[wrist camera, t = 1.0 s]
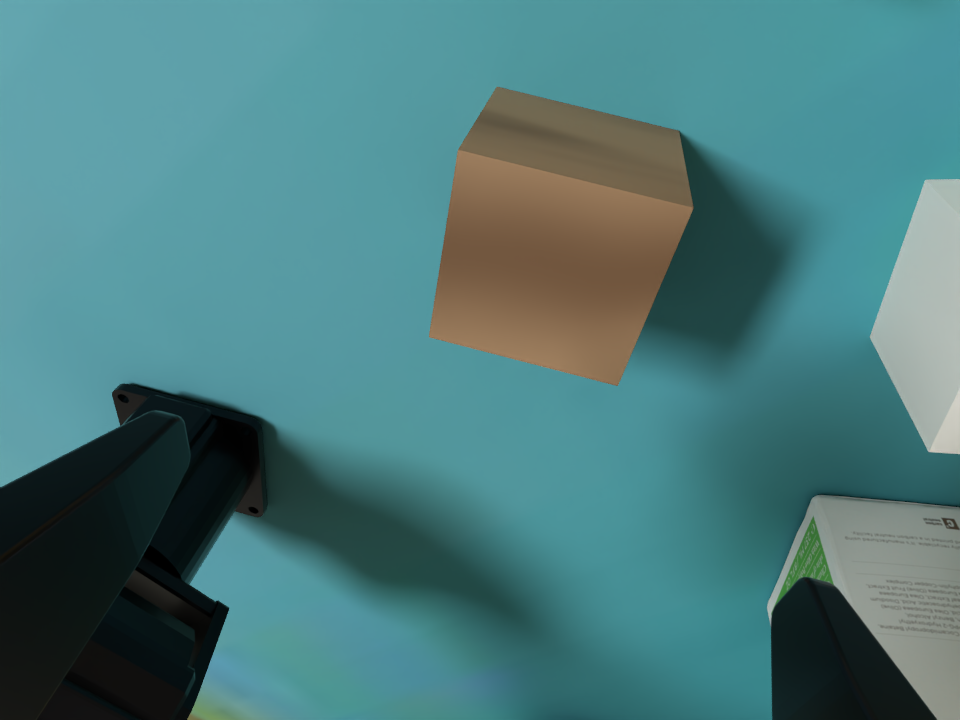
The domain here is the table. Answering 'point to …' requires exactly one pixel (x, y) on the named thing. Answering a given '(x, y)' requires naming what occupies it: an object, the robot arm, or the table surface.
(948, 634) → the skincare box
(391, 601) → the table surface
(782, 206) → the table surface
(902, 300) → the grey cube
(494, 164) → the walnut cube
